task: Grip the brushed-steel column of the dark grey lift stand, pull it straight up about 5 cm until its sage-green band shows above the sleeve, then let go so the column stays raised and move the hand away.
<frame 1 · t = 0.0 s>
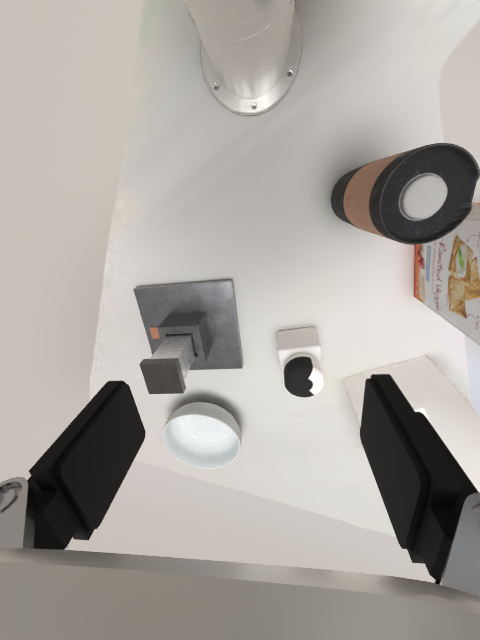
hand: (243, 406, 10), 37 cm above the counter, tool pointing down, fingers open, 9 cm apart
white house-shaped block: (392, 402, 54), on the counter
cereal bowl: (207, 417, 62), on the counter
medicine bottle: (297, 344, 51), on the counter
travel mug: (355, 196, 39), on the counter
stand base: (192, 327, 51), on the counter
cracker box: (431, 253, 41), on the counter
column: (177, 351, 43), point 9 cm above the counter, slide at 0.0 cm
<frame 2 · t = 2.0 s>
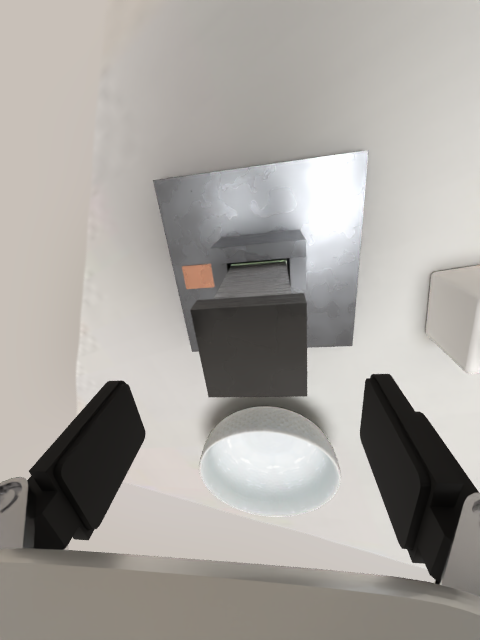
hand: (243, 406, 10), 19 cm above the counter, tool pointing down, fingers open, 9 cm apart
cereal bowl: (268, 430, 38), on the counter
medicine bottle: (464, 298, 27), on the counter
stand base: (262, 267, 27), on the counter
column: (258, 300, 19), point 9 cm above the counter, slide at 0.0 cm
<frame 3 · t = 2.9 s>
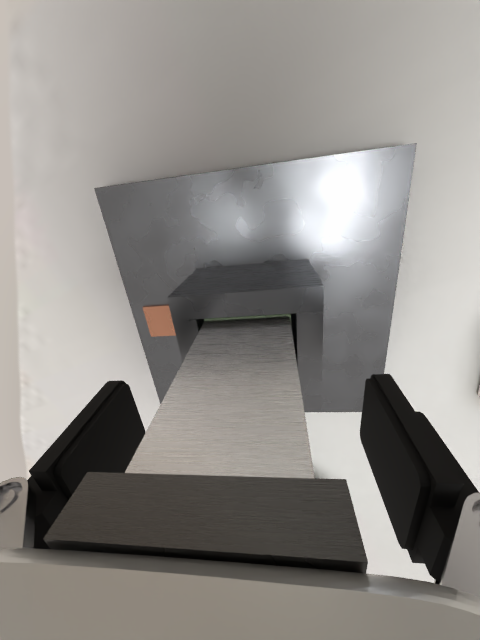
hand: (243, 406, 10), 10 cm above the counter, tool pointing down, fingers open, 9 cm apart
stand base: (256, 306, 20), on the counter
column: (246, 385, 12), point 9 cm above the counter, slide at 0.0 cm
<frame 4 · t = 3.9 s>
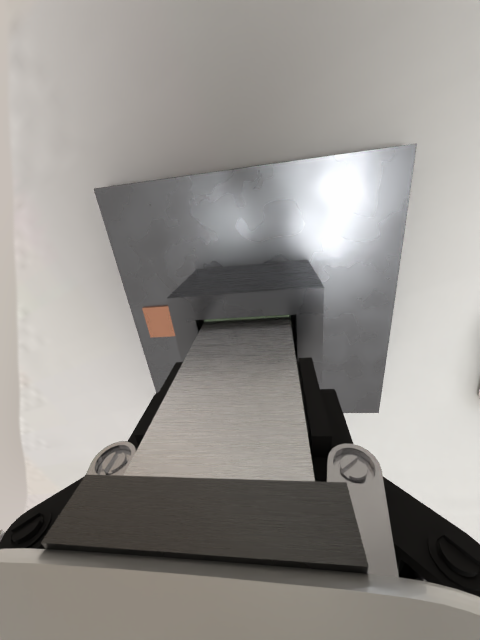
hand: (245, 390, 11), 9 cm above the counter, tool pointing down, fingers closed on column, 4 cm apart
stand base: (256, 307, 20), on the counter
column: (246, 386, 11), point 9 cm above the counter, slide at 0.0 cm, touching gripper
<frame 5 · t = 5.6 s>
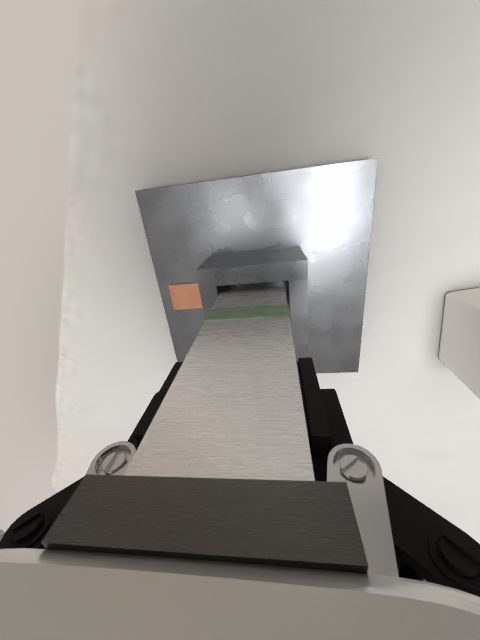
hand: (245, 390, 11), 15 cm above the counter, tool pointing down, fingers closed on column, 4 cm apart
stand base: (259, 285, 25), on the counter
column: (245, 386, 12), point 14 cm above the counter, slide at 5.4 cm, touching gripper
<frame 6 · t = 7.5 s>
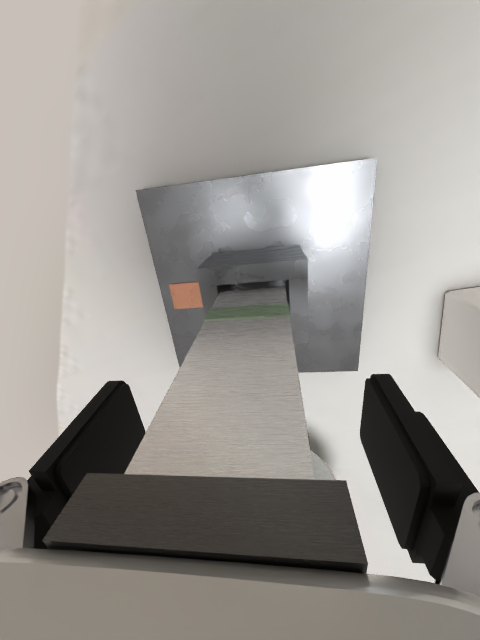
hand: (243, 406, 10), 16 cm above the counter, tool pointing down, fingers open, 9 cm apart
cereal bowl: (266, 457, 35), on the counter
stand base: (259, 284, 25), on the counter
column: (246, 386, 12), point 15 cm above the counter, slide at 5.5 cm
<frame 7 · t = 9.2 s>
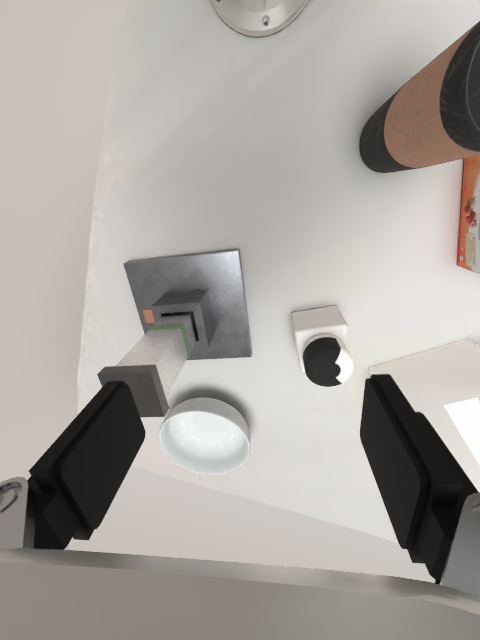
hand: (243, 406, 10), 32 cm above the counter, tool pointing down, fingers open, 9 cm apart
white house-shaped block: (425, 395, 47), on the counter
cereal bowl: (211, 416, 54), on the counter
medicine bottle: (315, 327, 44), on the counter
travel mug: (389, 140, 32), on the counter
stand base: (193, 309, 44), on the counter
column: (160, 355, 31), point 15 cm above the counter, slide at 5.5 cm
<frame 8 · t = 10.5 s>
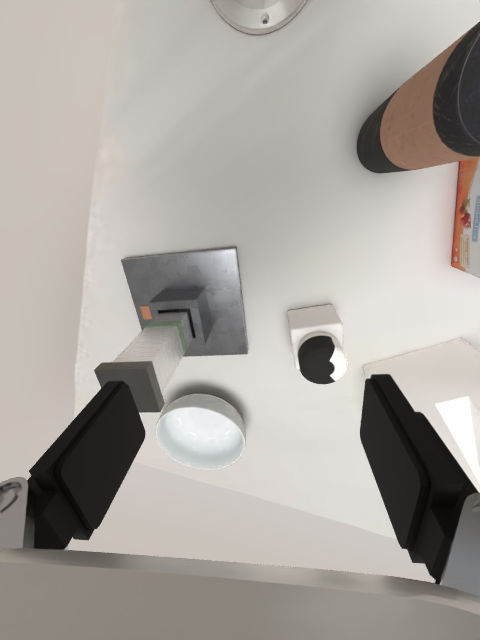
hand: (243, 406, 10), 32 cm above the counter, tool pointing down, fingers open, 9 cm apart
white house-shaped block: (418, 393, 48), on the counter
cereal bowl: (207, 412, 55), on the counter
medicine bottle: (311, 325, 44), on the counter
travel mug: (386, 140, 32), on the counter
stand base: (190, 306, 45), on the counter
cracker box: (475, 211, 35), on the counter
column: (156, 352, 32), point 15 cm above the counter, slide at 5.5 cm
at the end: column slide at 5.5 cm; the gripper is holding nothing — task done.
